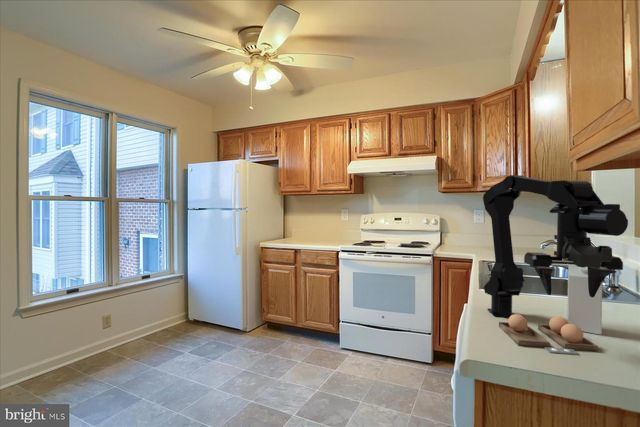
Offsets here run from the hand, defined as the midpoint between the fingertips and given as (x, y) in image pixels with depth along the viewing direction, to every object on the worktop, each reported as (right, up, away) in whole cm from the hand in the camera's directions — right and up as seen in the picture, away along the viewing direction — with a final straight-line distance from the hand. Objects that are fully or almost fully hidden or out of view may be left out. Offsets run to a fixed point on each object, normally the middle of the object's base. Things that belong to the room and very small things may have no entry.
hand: (570, 295), depth 78 cm
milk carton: (+12, -12, +11) cm, 20 cm away
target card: (-5, -12, -4) cm, 14 cm away
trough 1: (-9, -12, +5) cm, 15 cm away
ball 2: (+2, -9, +6) cm, 11 cm away
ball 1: (-8, -9, +7) cm, 14 cm away
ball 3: (+1, -9, 0) cm, 9 cm away
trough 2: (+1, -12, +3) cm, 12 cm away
